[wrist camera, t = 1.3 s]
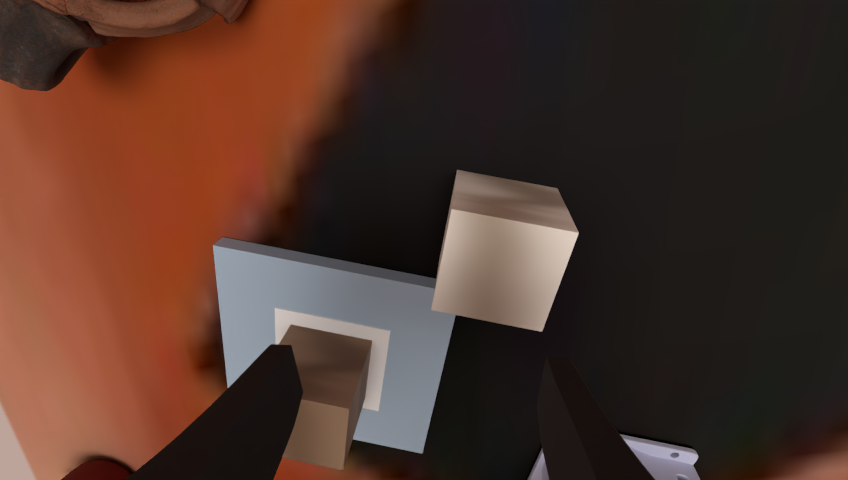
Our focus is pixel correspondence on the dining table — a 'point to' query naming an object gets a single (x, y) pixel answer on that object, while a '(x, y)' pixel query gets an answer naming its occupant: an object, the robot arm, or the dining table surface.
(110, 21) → the dark brown curved piece
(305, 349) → the walnut cube
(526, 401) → the dining table surface
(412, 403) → the blueprint board
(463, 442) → the dining table surface
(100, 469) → the cocoa
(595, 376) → the dining table surface
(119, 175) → the dining table surface
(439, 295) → the ivory cube
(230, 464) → the robot arm
